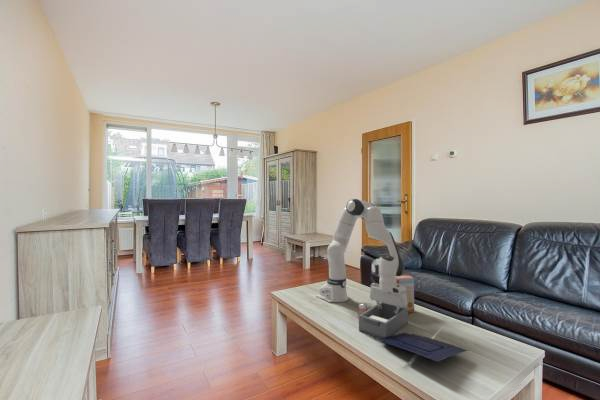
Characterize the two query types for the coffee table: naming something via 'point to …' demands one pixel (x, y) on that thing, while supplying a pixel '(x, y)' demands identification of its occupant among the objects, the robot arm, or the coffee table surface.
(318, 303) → the coffee table surface
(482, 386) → the coffee table surface
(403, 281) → the cracker box
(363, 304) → the jar with white lid
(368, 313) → the tote
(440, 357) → the dark navy flat panel
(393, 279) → the robot arm
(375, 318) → the cream block
